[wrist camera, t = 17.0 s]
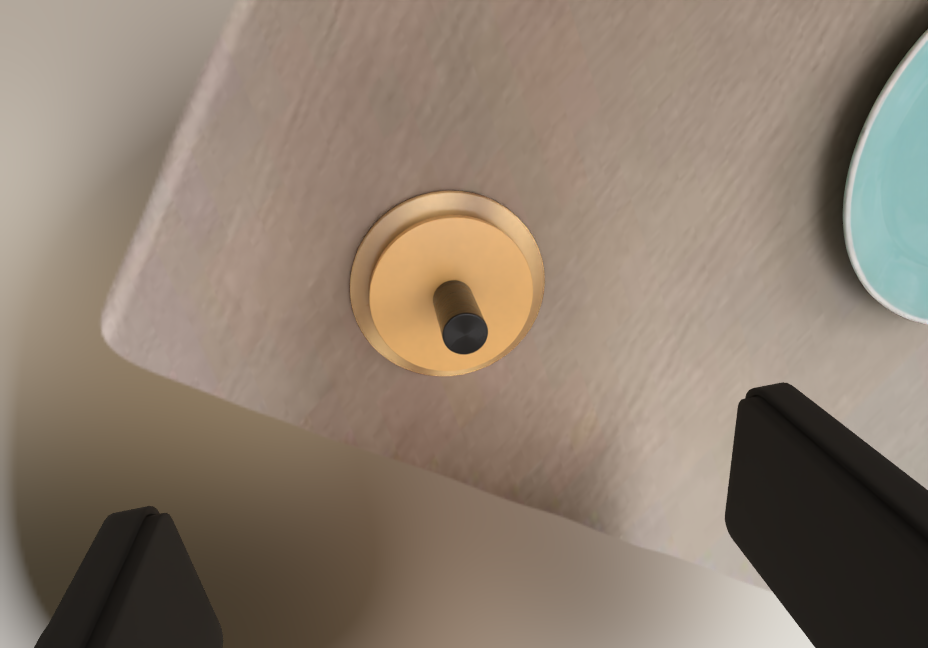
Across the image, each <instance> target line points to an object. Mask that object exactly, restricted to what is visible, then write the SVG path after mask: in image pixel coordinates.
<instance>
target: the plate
mask: <svg viewBox="0 0 928 648" xmlns="http://www.w3.org/2000/svg"><path fill="white" fill-rule="evenodd" d="M843 232H844V238H845V244H846V249H847V253H848V256H849V259H850V262H851V264H852V267H853V269H854V271H855V273H856V275H857V277H858V279H859V280H860V282H861V283H862V285H863V286H864V288H865V289H866V290H867V291H868V293H869V294H870V295H871V296H872V297H873V298H874V299H875V300H876V301H878V302H879V303H880V304H881V305H883V306H884V307H885V308H887V309H888V310H890V311H892V312H893V313H895V314H897V315H899V316H901V317H903V318H906V319H909V320H912V321H915V322H918V323H922V324H928V29H927V30H926V31H925V32H924V33H923V35H922V36H921V37H920V38H919V39H918V40H917V41H916V43H915V44H914V45H913V46H912V47H911V49H910V50H909V51H908V52H907V54H906V55H905V56H904V58H903V59H902V60H901V62H900V63H899V64H898V66H897V67H896V69H895V70H894V72H893V73H892V75H891V76H890V78H889V79H888V81H887V82H886V84H885V86H884V87H883V89H882V91H881V92H880V94H879V96H878V98H877V99H876V101H875V103H874V105H873V107H872V109H871V111H870V113H869V115H868V117H867V119H866V121H865V124H864V126H863V128H862V131H861V133H860V135H859V138H858V141H857V144H856V147H855V149H854V152H853V156H852V159H851V162H850V166H849V170H848V175H847V179H846V185H845V192H844V200H843Z"/></svg>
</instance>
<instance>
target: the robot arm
mask: <svg viewBox="0 0 928 648" xmlns="http://www.w3.org/2000/svg"><path fill="white" fill-rule="evenodd" d="M725 522H726V526H727V530H728V532H729V534H730V536H731V537H732V539H733V540H734V542H735V543H736V544H737V546H738V547H739V548H740V550H741V551H742V552H743V554H744V555H745V556H746V557H747V559H748V560H749V561H750V563H751V564H752V565H753V567H754V568H755V569H756V571H757V572H758V573H759V574H760V576H761V577H762V578H763V580H764V581H765V582H766V584H767V585H768V586H769V588H770V589H771V590H772V591H773V593H774V594H775V595H776V597H777V598H778V599H779V601H780V602H781V603H782V604H783V606H784V607H785V608H786V610H787V611H788V612H789V614H790V615H791V616H792V618H793V619H794V620H795V622H796V623H797V624H798V625H799V627H800V628H801V629H802V631H803V632H804V633H805V634H806V636H807V637H808V639H809V640H810V641H811V642H812V644H813V645H814V646H815V648H928V490H927V489H925V488H924V487H923V486H921V485H920V484H919V483H918V482H916V481H915V480H914V479H912V478H911V477H910V476H909V475H907V474H906V473H905V472H903V471H902V470H901V469H899V468H898V467H897V466H896V465H894V464H893V463H892V462H890V461H889V460H888V459H887V458H885V457H884V456H883V455H881V454H880V453H879V452H877V451H876V450H875V449H874V448H872V447H871V446H870V445H868V444H867V443H866V442H865V441H863V440H862V439H861V438H859V437H858V436H857V435H856V434H854V433H853V432H852V431H850V430H849V429H848V428H846V427H845V426H844V425H843V424H841V423H840V422H839V421H837V420H836V419H835V418H834V417H832V416H831V415H830V414H828V413H827V412H826V411H824V410H823V409H822V408H821V407H819V406H818V405H817V404H815V403H814V402H813V401H812V400H810V399H809V398H808V397H806V396H805V395H804V394H803V393H801V392H800V391H799V390H797V389H796V388H795V387H793V386H792V385H790V384H788V383H777V384H772V385H767V386H762V387H757V388H753V389H750V390H749V391H748V392H747V394H746V398H745V399H743V400H741V401H740V402H739V405H738V411H737V419H736V427H735V436H734V444H733V452H732V461H731V469H730V478H729V486H728V494H727V503H726V511H725ZM34 648H223V635H222V629H221V626H220V623H219V621H218V619H217V617H216V615H215V612H214V610H213V608H212V606H211V604H210V602H209V599H208V597H207V595H206V593H205V590H204V588H203V586H202V584H201V581H200V579H199V577H198V575H197V573H196V570H195V568H194V566H193V564H192V562H191V560H190V557H189V555H188V553H187V551H186V548H185V546H184V544H183V542H182V539H181V537H180V535H179V533H178V531H177V528H176V526H175V524H174V522H173V520H172V518H171V516H170V515H169V514H167V513H162V514H160V513H159V512H158V510H157V509H156V508H155V507H153V506H147V507H142V508H137V509H132V510H127V511H122V512H117V513H113V514H111V515H109V516H108V517H107V518H106V520H105V521H104V523H103V524H102V526H101V528H100V530H99V532H98V534H97V536H96V537H95V540H94V541H93V543H92V545H91V547H90V548H89V551H88V552H87V554H86V556H85V558H84V560H83V561H82V563H81V565H80V567H79V569H78V571H77V572H76V574H75V576H74V578H73V580H72V582H71V584H70V585H69V587H68V589H67V591H66V593H65V595H64V597H63V598H62V600H61V602H60V604H59V606H58V608H57V609H56V611H55V613H54V615H53V617H52V619H51V621H50V622H49V624H48V626H47V627H46V629H45V630H44V631H43V633H42V634H41V636H40V638H39V639H38V641H37V643H36V645H35V647H34Z"/></svg>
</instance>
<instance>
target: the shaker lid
mask: <svg viewBox="0 0 928 648" xmlns="http://www.w3.org/2000/svg"><path fill="white" fill-rule="evenodd" d="M532 298H533V281H532V276H531V271H530V268H529V265H528V263H527V261H526V259H525V257H524V255H523V253H522V252H521V250H520V249H519V247H518V246H517V245H516V243H515V242H514V241H513V240H512V239H511V238H510V237H509V236H508V235H507V234H506V233H504V232H503V231H502V230H501V229H499V228H498V227H496V226H494V225H493V224H491V223H488V222H486V221H484V220H481V219H478V218H474V217H470V216H463V215H445V216H438V217H434V218H430V219H426V220H424V221H421V222H419V223H416V224H414V225H413V226H411V227H409V228H407V229H406V230H404V231H403V232H402V233H400V234H399V235H398V236H397V237H396V238H395V239H394V240H393V241H392V242H391V243H390V244H389V245H388V246H387V247H386V249H385V250H384V251H383V252H382V254H381V256H380V258H379V259H378V261H377V263H376V266H375V268H374V270H373V273H372V277H371V281H370V290H369V302H370V310H371V316H372V319H373V322H374V325H375V327H376V329H377V331H378V333H379V335H380V336H381V338H382V339H383V340H384V342H385V343H386V344H387V345H388V346H389V347H390V348H391V350H393V351H394V352H395V353H396V354H397V355H399V356H400V357H402V358H403V359H405V360H406V361H408V362H410V363H412V364H415V365H417V366H420V367H423V368H426V369H431V370H437V371H457V370H463V369H468V368H472V367H475V366H478V365H480V364H483V363H485V362H487V361H489V360H491V359H493V358H494V357H496V356H497V355H499V354H500V353H501V352H503V351H504V350H505V349H506V348H507V347H508V346H509V345H510V344H511V343H512V342H513V341H514V340H515V339H516V337H517V336H518V335H519V333H520V332H521V330H522V328H523V327H524V325H525V323H526V321H527V318H528V315H529V313H530V309H531V305H532Z"/></svg>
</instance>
